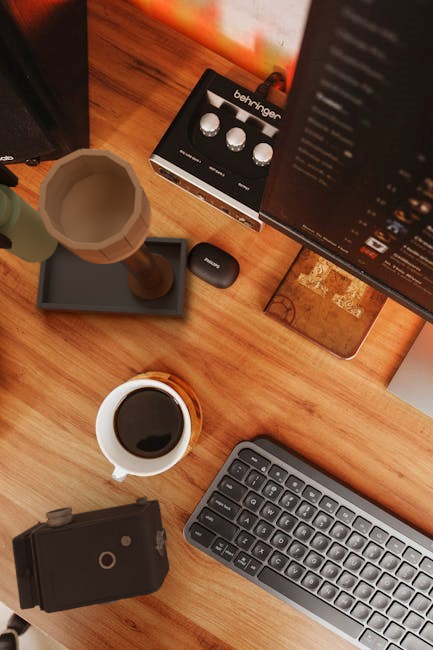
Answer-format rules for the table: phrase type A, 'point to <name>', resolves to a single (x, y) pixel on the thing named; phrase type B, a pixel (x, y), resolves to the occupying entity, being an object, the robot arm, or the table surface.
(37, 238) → the bottle
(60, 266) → the tray
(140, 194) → the goblet
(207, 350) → the table surface
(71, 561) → the camera
